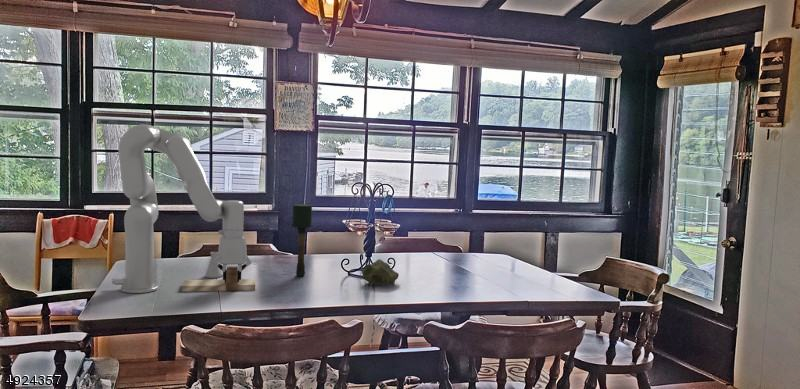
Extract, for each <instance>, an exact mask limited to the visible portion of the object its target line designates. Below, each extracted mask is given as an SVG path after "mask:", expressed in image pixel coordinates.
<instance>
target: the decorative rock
mask: <svg viewBox="0 0 800 389" xmlns="http://www.w3.org/2000/svg"><path fill="white" fill-rule="evenodd" d="M361 272H362V273H361V274H362V278H363V280H365V281H366V282H367V283H370V284H373V285H376V286H382V285H394V284H395V282H396V280H398V278H399V273H398V272H396V271H395V270H394V269H393V268H391V266H390V264H389V263H388V262H385V261H384V260H382V259H380V258H378V259H377V260H375V261H374V262H373V263H368V264H365V266H364V268H363V270H362V271H361Z"/></svg>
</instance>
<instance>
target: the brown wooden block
mask: <svg viewBox="0 0 800 389" xmlns="http://www.w3.org/2000/svg"><path fill="white" fill-rule="evenodd" d="M238 269H239V268H238V265H230V266H229V265H227V266H226V291H232V292H233V291H238V290H237V280H238Z"/></svg>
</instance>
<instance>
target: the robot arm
mask: <svg viewBox="0 0 800 389" xmlns="http://www.w3.org/2000/svg"><path fill="white" fill-rule="evenodd" d="M118 143H119V144H118V160H119V166H120V170H119V171H120V175H121V176H120V177H121V186H122V192H123V194H124V195H125V197H127V198H128V199H129V202H130V203H129V205H130V206H129V207H128V208H127V210H126V212H125V213H124V216H123V217H124V218H123V221H124V234H125V240H124V242H125V243H124V244H125V259H124V260H125V262H124V263H125V266H124V267H125V274H124V275H125V276H124V277H122V278H112V281H111V282H112V285H116V286H118V285H121V286H120V291H121V292H122V293H127V294H144V293H151V292H155V291H157V290H158V289H159V285H158V284H157V283H155V282H154V280H155V279H154V278H155V277H154V275H155V273H154V270H155V232H154V224H155V223H156V221H157V220H158V218H159V206H158V199H157V198H158V197H157V189H156V185H155V181H154V179H153V178H152V177H151V175H150V174H148V171H147V162H146V158H145V157H146V156H145V151H146V149H150V150H153V151H156V152H158V153H162V154H164V155H167V157H168V159H169V161H170V163H171V164H172V166H173V167H174V169H175V171H176V173H177V174H178V177H179V178H180V180H181V182H182V185H183V186H184V189H185V190H186V192H187V194H188V197H189V199H190V200H191V202H192V205H193V206H194V207H195V209H196V210H197V213H198V214H199V216H200V217H201V218H202V219H203V220H204V221H206V222H211V223H213V222H216V221H217V220H218V219H222V229H220V230H218V235H221V237H220V238H219V243H218V251H217V252H218V255H217V258H216V259H215V260H214V262H213V264H214V265H215V266H217V267H218V268H220V269H221V272H222V275H223V276H222V279H223V280H225V283H226V269H227V266H228V265H237V266H238V280H237V282H239V280H241V279H242V272H243V270H245V268H247V267H249V266H250V265H251V264H252V260H251V259H250V257H249V256H248V255H247V254H248V253H247V241H246V240H247V239H246V237H245V236H244V218H245V217H244V216H245V215H244V214H245V204H244V202H243V201H241V200H235V199H233V200H231V199H230V200H222V199H216V198H215V196H214V195H213V193H212V191H211V189H210V187H209V185H208V181H207V178H206V173H205V170H204V169H203V167H202V165H201V163H200V161H199V159H198V158H197V156H196V154H195V153H194V151H193V149H192V144H191V141H190V140H189V139H188V138H186V137H185V136H183V135H181V134H176V133H173V132H171V131H168V130H166V129H162V128H160V127H157V126H155V125H150V124H146V123H145V124H144V123H143V124H137V125H135V126H132V127H130V129H128V130H127V131H125V132H124V134H123V135H122V136H121V139H120V140H119V142H118Z"/></svg>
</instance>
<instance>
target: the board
mask: <svg viewBox="0 0 800 389" xmlns="http://www.w3.org/2000/svg"><path fill="white" fill-rule="evenodd" d="M216 291H217V292H219V291H220V292H222V291H226V283H225V280H223V278H222V279H184V280H183V283H182V285H181V292H216ZM236 291H256V279H255V278H241V280H239V282H237V290H236Z"/></svg>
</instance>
